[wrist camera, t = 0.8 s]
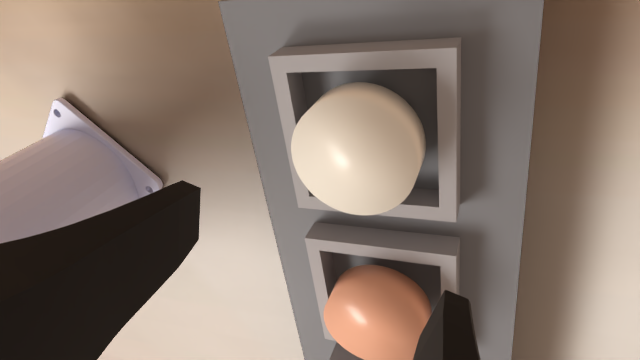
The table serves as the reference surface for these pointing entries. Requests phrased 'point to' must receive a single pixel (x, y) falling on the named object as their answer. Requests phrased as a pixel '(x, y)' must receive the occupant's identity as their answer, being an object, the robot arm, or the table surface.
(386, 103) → the cream button
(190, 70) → the table surface
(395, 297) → the terracotta button
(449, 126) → the button panel
